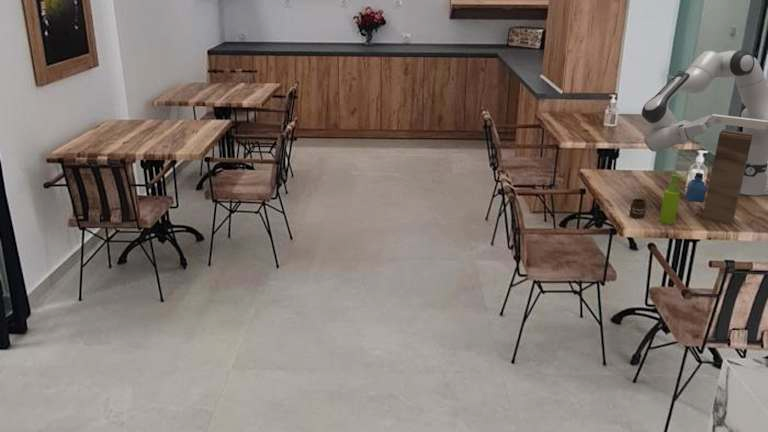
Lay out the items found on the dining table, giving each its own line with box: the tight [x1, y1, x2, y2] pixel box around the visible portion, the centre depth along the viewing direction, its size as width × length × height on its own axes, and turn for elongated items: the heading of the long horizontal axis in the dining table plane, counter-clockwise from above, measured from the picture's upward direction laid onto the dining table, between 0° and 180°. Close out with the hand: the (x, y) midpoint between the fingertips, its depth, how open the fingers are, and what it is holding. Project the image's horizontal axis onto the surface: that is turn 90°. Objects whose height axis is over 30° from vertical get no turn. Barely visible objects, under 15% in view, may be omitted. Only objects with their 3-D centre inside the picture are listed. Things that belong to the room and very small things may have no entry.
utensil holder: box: [629, 189, 651, 220], centre depth 270 cm, size 6×6×12 cm
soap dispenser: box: [658, 173, 687, 225], centre depth 264 cm, size 6×7×20 cm
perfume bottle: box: [685, 172, 707, 203], centre depth 291 cm, size 6×6×12 cm
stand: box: [701, 129, 753, 226], centre depth 265 cm, size 9×11×36 cm
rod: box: [711, 113, 768, 130], centre depth 256 cm, size 3×20×3 cm, turn 56°
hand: (720, 118), depth 260 cm, fingers closed on rod, 3 cm apart
